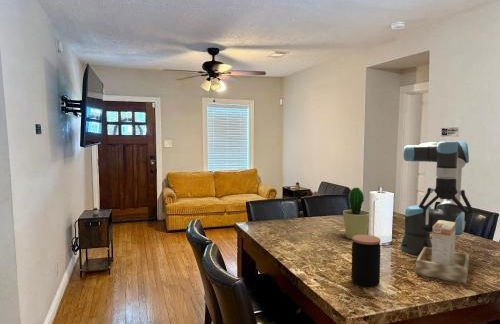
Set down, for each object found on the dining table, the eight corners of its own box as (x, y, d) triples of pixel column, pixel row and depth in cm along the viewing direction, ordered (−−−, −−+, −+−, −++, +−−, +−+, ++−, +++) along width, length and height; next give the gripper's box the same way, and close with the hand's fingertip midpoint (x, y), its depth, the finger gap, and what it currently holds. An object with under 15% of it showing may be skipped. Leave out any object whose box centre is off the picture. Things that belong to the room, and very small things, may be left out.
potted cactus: (365, 242, 185) (366, 189, 183) (338, 237, 195) (339, 186, 193) (373, 236, 198) (374, 186, 196) (348, 232, 207) (349, 184, 205)
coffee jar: (373, 277, 139) (374, 234, 138) (384, 288, 128) (385, 242, 127) (347, 277, 138) (348, 234, 137) (356, 288, 128) (357, 242, 126)
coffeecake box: (437, 261, 153) (438, 219, 152) (455, 265, 149) (456, 222, 148) (430, 271, 142) (431, 226, 141) (449, 275, 137) (451, 228, 136)
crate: (415, 274, 142) (416, 260, 141) (423, 259, 160) (424, 246, 159) (466, 284, 131) (466, 269, 131) (468, 267, 149) (469, 254, 149)
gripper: (412, 176, 147) (411, 224, 149) (481, 180, 133) (479, 232, 134) (415, 175, 153) (414, 220, 155) (481, 178, 139) (479, 228, 140)
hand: (444, 226), depth 144 cm, fingers open, 13 cm apart
